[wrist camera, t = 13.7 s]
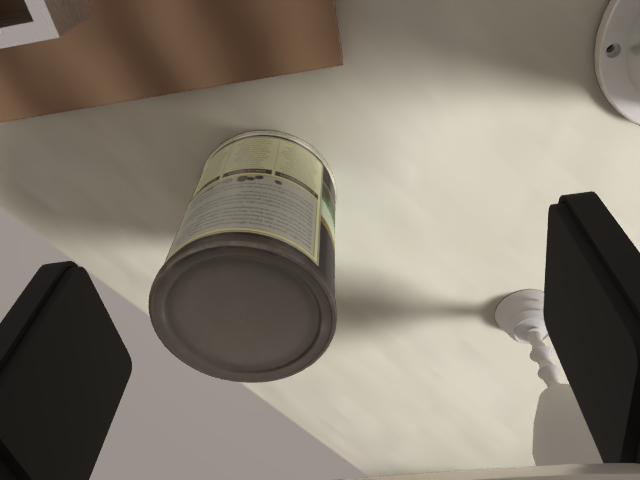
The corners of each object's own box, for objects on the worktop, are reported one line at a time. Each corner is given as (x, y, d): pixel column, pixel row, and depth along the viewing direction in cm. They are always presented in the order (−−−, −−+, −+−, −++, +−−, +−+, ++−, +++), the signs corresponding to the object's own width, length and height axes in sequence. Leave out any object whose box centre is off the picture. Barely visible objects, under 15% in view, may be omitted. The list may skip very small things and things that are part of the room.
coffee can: (363, 208, 44) (372, 340, 32) (257, 267, 47) (230, 406, 36) (282, 100, 39) (258, 208, 27) (171, 175, 42) (107, 299, 31)
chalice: (490, 279, 47) (559, 478, 32) (574, 278, 47) (683, 479, 32) (479, 343, 51) (535, 546, 36) (556, 343, 51) (645, 548, 36)
